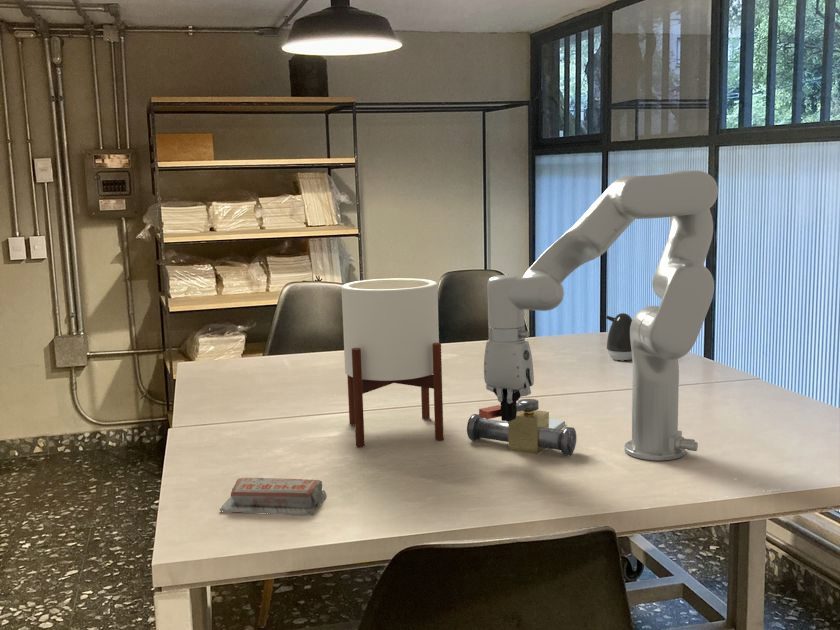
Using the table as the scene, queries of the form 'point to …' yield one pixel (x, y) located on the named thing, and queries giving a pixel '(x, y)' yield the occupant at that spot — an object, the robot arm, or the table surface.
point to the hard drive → (556, 423)
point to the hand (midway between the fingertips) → (508, 419)
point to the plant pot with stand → (392, 343)
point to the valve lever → (520, 406)
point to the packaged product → (275, 496)
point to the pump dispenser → (619, 337)
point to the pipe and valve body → (524, 432)
